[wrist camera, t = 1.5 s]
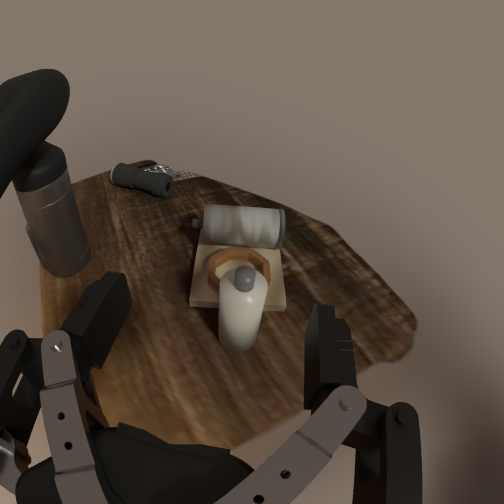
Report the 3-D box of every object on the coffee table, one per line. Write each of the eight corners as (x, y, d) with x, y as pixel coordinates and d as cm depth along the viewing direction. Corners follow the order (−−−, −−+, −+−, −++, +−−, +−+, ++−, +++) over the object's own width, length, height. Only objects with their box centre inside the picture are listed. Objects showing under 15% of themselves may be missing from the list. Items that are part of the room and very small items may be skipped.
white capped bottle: (217, 351, 37) (218, 291, 28) (219, 319, 41) (221, 254, 32) (256, 353, 37) (271, 294, 29) (255, 321, 41) (268, 257, 33)
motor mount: (183, 305, 42) (178, 266, 36) (196, 231, 54) (195, 194, 48) (284, 311, 43) (296, 273, 37) (275, 237, 55) (283, 200, 50)
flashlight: (176, 191, 64) (175, 170, 60) (163, 203, 60) (161, 181, 57) (125, 178, 67) (123, 159, 63) (112, 188, 63) (108, 168, 59)
